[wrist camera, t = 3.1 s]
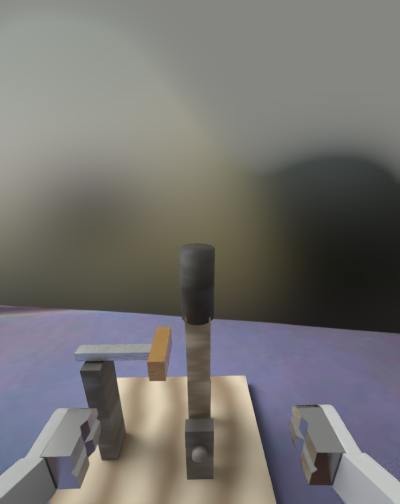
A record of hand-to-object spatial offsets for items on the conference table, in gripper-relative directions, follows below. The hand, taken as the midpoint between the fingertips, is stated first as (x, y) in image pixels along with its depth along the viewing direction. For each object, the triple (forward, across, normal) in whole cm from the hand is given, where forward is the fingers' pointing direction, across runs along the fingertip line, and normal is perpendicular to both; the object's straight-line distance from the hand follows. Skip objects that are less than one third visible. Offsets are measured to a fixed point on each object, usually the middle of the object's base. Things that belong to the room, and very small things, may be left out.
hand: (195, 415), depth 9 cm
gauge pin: (+12, +8, +9) cm, 17 cm away
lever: (+12, 0, +18) cm, 21 cm away
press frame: (+12, +4, +25) cm, 28 cm away
